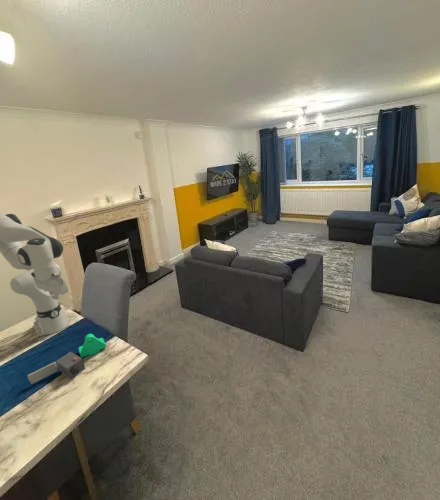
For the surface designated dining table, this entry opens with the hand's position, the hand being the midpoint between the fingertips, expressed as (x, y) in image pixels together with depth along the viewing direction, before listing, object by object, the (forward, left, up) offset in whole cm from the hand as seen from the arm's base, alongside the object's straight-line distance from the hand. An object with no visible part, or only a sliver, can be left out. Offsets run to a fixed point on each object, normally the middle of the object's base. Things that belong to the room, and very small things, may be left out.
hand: (56, 298), depth 125 cm
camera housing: (+13, -8, -31) cm, 35 cm away
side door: (+6, -17, -30) cm, 35 cm away
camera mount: (+9, +5, -32) cm, 33 cm away
